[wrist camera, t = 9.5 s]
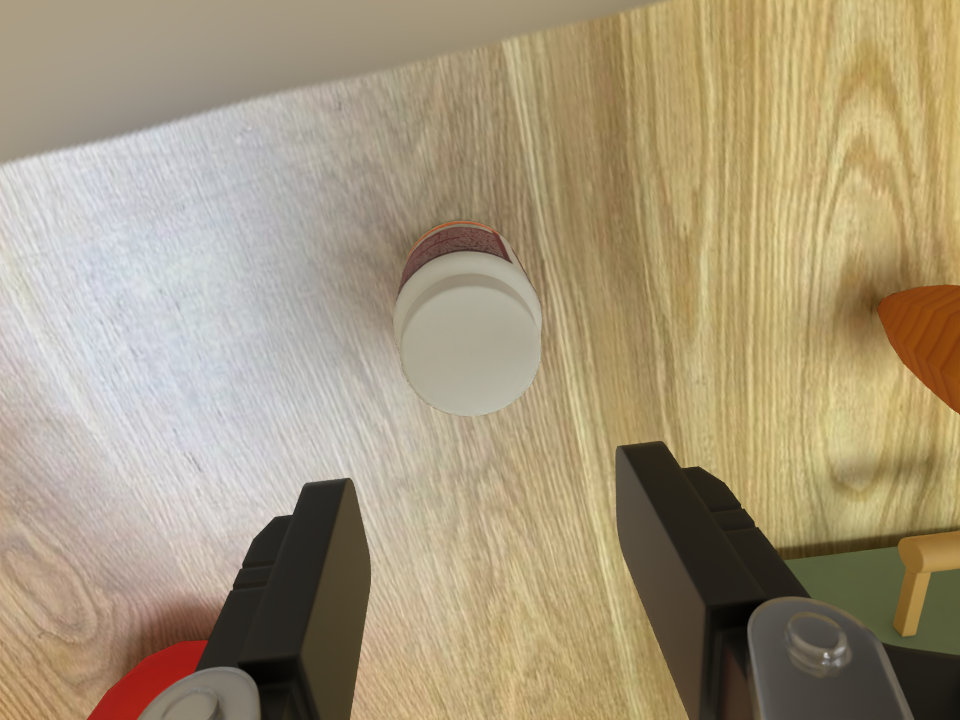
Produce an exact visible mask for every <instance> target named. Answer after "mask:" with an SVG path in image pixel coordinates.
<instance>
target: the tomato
mask: <svg viewBox="0 0 960 720" xmlns="http://www.w3.org/2000/svg"><path fill="white" fill-rule="evenodd" d="M207 642H208V640H200V641H181V642H179V643H177V644H174V645H172V646H170V647H168V648H165V649H163V650H161V651H159V652H156V653H154V654H152V655H150V656H147V657H146V658H145V659H143V660H142V661H141V662H140V663H139V664H138V665H137V666H135V667H134V668H133V669H132V670H131V671H130V672H129V673H128V674H126V675H125V676H124V677H123V678H122V679H121V680H120V681H118V682H117V683H116V684H115V685H114V686H113V687H112V688H110V689H109V690H108V691H107V692H106V694H105V695H104V696H103V698H102V699H101V701H100V702H99V703H98V705H97V706H96V708H95V709H94V710H93V712H92V713H91V715H90V716H89V717H88V719H87V720H137V719H138V717H139V716H140V714H141V713H142V712H143V711H144V709H145V708H146V707H147V706H148V705H149V704H150V703H151V702H152V701H153V700H154V699H155V698H156V697H157V696H158V695H159V694H160V693H162V692H163V691H164V690H165V689H167V688H168V687H170V686H171V685H172V684H174V683H175V682H177V681H179V680H181V679H183V678H184V677H186V676H188V675H191V674H193V673H194V671H195V669H196V667H197V664H198V662H199V660H200V658H201V655H202V653H203V651H204V649H205V646H206V644H207Z"/></svg>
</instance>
